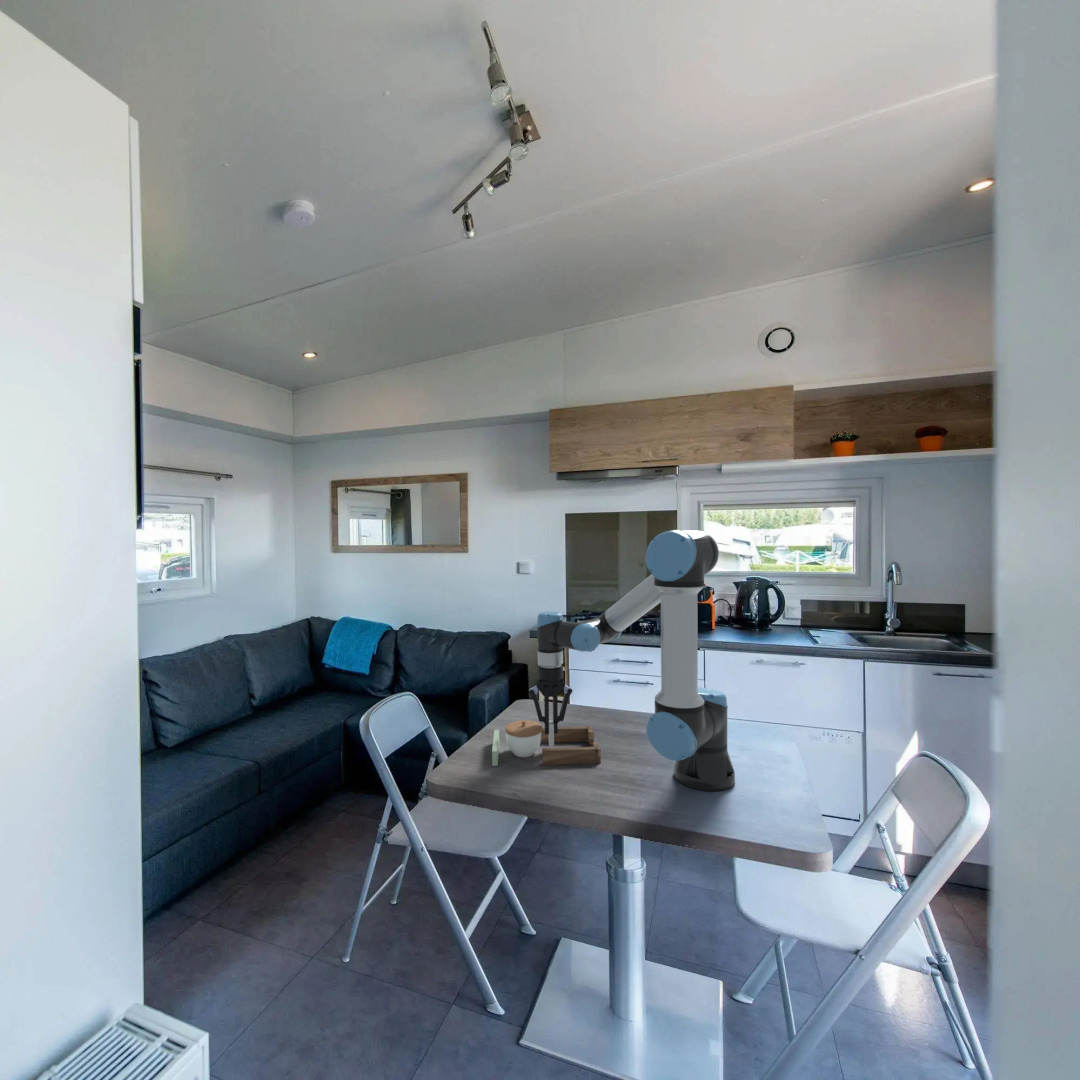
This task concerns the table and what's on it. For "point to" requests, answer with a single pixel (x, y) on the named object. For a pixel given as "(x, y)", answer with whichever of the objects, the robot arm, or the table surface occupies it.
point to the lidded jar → (523, 737)
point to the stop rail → (495, 748)
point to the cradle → (571, 754)
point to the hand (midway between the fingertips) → (551, 744)
